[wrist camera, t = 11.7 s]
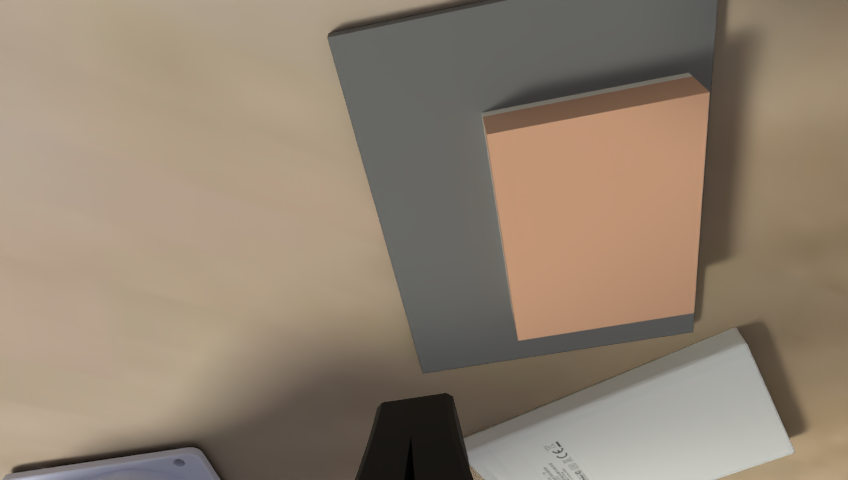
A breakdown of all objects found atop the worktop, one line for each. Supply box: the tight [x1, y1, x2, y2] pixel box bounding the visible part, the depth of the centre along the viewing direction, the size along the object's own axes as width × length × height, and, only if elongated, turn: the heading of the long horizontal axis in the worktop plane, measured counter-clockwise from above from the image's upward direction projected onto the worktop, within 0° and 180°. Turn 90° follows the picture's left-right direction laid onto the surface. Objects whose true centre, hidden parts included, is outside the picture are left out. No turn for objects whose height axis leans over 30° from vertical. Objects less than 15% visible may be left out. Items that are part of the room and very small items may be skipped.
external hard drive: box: [463, 327, 795, 480], centre depth 28 cm, size 2×8×12 cm
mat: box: [327, 0, 718, 373], centre depth 20 cm, size 10×14×1 cm
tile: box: [482, 73, 710, 341], centre depth 20 cm, size 2×8×6 cm
